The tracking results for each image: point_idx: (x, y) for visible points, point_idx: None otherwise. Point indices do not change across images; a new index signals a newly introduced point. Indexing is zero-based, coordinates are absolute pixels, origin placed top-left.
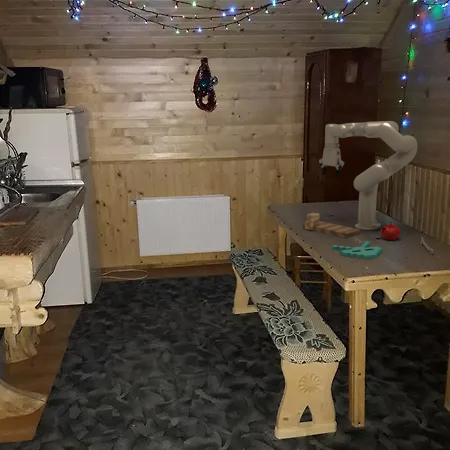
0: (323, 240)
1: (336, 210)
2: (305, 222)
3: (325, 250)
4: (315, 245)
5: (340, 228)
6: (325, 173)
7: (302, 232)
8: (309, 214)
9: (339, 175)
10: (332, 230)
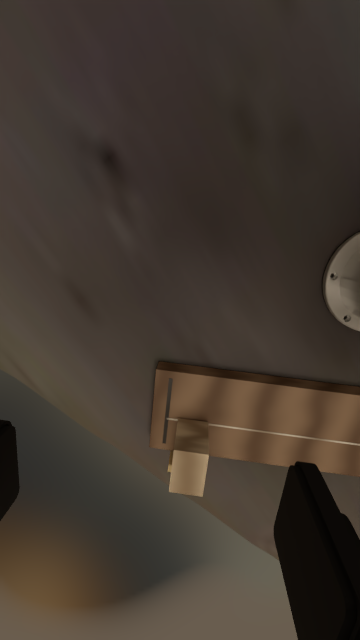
0: None
1: (54, 4)
2: (169, 468)
3: None
4: None
5: (314, 427)
6: (6, 458)
7: None
8: (175, 485)
9: (314, 477)
10: None
